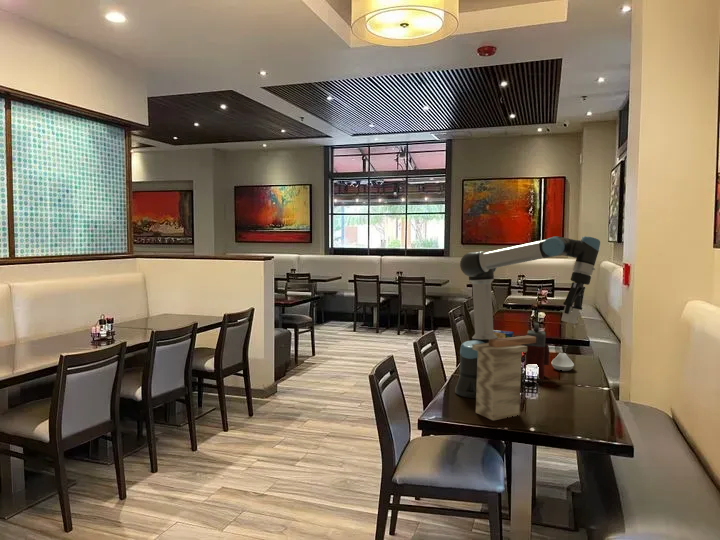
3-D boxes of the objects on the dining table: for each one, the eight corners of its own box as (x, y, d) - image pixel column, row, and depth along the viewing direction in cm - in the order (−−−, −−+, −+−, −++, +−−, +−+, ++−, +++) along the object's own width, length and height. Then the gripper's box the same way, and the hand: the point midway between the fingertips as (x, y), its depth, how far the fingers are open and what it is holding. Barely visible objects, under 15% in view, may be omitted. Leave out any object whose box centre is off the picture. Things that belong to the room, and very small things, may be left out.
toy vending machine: (548, 380, 259) (550, 325, 257) (525, 377, 263) (527, 323, 261) (548, 376, 267) (550, 322, 266) (526, 373, 271) (528, 321, 270)
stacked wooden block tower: (470, 412, 208) (472, 344, 207) (503, 406, 217) (505, 340, 215) (490, 422, 198) (493, 350, 196) (524, 415, 206) (527, 346, 205)
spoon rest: (574, 373, 274) (575, 360, 273) (551, 371, 278) (551, 358, 277) (571, 363, 296) (572, 351, 296) (550, 361, 300) (550, 349, 300)
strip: (488, 345, 206) (488, 339, 205) (528, 341, 216) (528, 335, 216) (495, 347, 202) (495, 341, 202) (535, 342, 212) (536, 337, 212)
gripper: (585, 271, 203) (570, 323, 203) (597, 279, 223) (584, 326, 223) (565, 267, 207) (551, 318, 207) (579, 275, 227) (566, 321, 228)
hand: (568, 322), depth 215 cm, fingers open, 13 cm apart
